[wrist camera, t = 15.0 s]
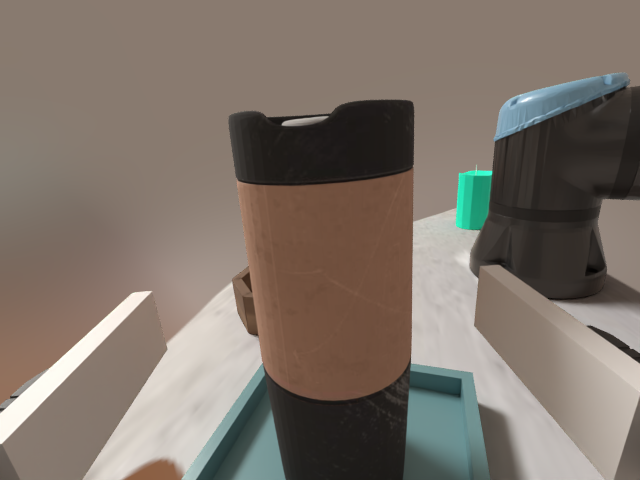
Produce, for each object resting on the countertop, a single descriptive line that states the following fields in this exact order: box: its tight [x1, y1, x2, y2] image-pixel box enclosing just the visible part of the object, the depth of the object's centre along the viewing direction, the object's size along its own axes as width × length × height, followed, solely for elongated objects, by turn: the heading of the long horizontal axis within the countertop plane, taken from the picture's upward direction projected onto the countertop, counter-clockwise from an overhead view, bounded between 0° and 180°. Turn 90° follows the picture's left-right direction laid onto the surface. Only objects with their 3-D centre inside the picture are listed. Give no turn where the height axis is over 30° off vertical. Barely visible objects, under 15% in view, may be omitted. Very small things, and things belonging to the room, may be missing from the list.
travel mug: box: [229, 100, 414, 480], centre depth 16 cm, size 8×8×20 cm
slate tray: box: [181, 363, 490, 480], centre depth 20 cm, size 16×16×2 cm
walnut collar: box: [232, 266, 258, 335], centre depth 39 cm, size 12×12×4 cm
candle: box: [456, 166, 492, 230], centre depth 63 cm, size 6×6×12 cm
